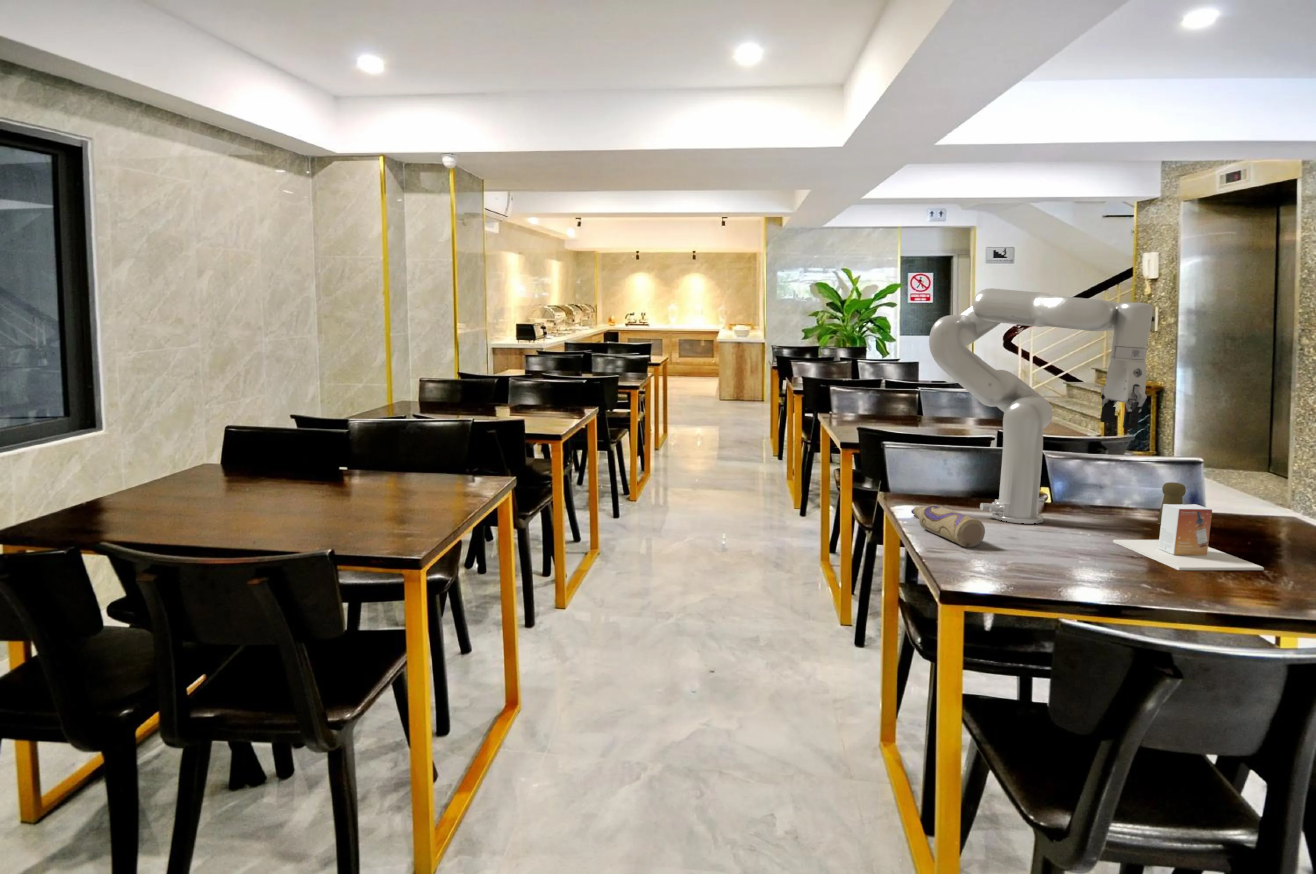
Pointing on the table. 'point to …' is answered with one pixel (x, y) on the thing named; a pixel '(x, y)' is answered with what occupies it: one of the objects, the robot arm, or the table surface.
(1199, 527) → the small box
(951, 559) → the table surface
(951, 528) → the decorative bottle
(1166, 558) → the mat
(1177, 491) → the cork
